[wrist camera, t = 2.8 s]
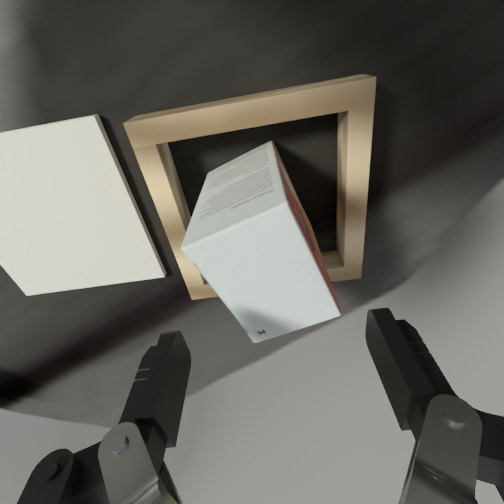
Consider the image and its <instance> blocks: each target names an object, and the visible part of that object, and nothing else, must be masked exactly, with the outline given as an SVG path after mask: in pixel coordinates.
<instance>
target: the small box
mask: <svg viewBox="0 0 504 504" xmlns="http://www.w3.org/2000/svg"><path fill="white" fill-rule="evenodd" d="M181 251H182V252H183V253H184V254H185V256H186V257H187V258H188V259H189V260H190V261H191V262H192V264H193V265H194V266H195V267H196V268H197V269H198V271H199V272H200V273H201V274H202V275H203V277H204V278H205V279H206V280H207V282H208V283H209V284H210V285H211V287H212V288H213V289H214V290H215V292H216V293H217V294H218V296H219V297H220V298H221V299H222V301H223V302H224V303H225V305H226V306H227V307H228V308H229V310H230V311H231V312H232V314H233V315H234V316H235V317H236V319H237V320H238V321H239V323H240V324H241V325H242V327H243V328H244V329H245V331H246V332H247V334H248V336H249V337H250V338H251V340H252V341H253V343H258V342H261V341H264V340H267V339H271V338H274V337H277V336H280V335H283V334H286V333H289V332H292V331H296V330H299V329H302V328H305V327H308V326H311V325H314V324H317V323H320V322H323V321H326V320H329V319H332V318H335V317H338V316H340V315H341V314H342V313H341V310H340V307H339V304H338V301H337V298H336V296H335V293H334V290H333V287H332V284H331V281H330V278H329V276H328V273H327V270H326V267H325V264H324V261H323V258H322V255H321V252H320V249H319V246H318V243H317V241H316V238H315V235H314V232H313V229H312V226H311V224H310V222H309V220H308V217H307V215H306V213H305V211H304V209H303V207H302V205H301V203H300V201H299V199H298V196H297V194H296V192H295V189H294V187H293V185H292V183H291V180H290V178H289V176H288V173H287V171H286V169H285V167H284V164H283V162H282V160H281V158H280V155H279V153H278V151H277V148H276V146H275V144H274V142H273V141H269V142H267V143H265V144H263V145H261V146H259V147H257V148H255V149H253V150H251V151H249V152H247V153H245V154H243V155H241V156H239V157H237V158H235V159H234V160H232V161H230V162H228V163H226V164H224V165H222V166H220V167H218V168H216V169H214V170H213V171H211V172H209V173H208V174H207V177H206V180H205V182H204V185H203V188H202V190H201V193H200V196H199V198H198V201H197V204H196V207H195V209H194V212H193V215H192V217H191V220H190V223H189V226H188V229H187V231H186V234H185V237H184V240H183V242H182V245H181Z"/></svg>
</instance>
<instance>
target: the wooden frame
mask: <svg viewBox="0 0 504 504" xmlns="http://www.w3.org/2000/svg"><path fill="white" fill-rule="evenodd" d="M375 91H376V77H375V76H370V75H365V74H359V75H353V76H348V77H342V78H337V79H332V80H326V81H321V82H315V83H310V84H305V85H299V86H294V87H288V88H283V89H277V90H272V91H267V92H261V93H256V94H250V95H245V96H240V97H234V98H229V99H223V100H218V101H213V102H207V103H202V104H196V105H191V106H185V107H180V108H175V109H169V110H164V111H158V112H153V113H148V114H142V115H137V116H135V117H133V118H131V119H130V120H128V121H126V122H124V123H123V124H124V127H125V129H126V132H127V135H128V137H129V140H130V142H131V145H132V147H133V150H134V152H135V155H136V158H137V160H138V163H139V165H140V168H141V170H142V173H143V176H144V178H145V181H146V183H147V186H148V188H149V191H150V193H151V196H152V199H153V201H154V204H155V206H156V209H157V211H158V214H159V216H160V219H161V222H162V224H163V227H164V229H165V232H166V234H167V237H168V240H169V242H170V245H171V247H172V250H173V252H174V255H175V257H176V260H177V263H178V265H179V268H180V270H181V273H182V275H183V278H184V280H185V283H186V286H187V288H188V291H189V293H190V296H191V298H192V300H194V299H202V298H210V297H218V294H217V293H216V292H215V290H214V289H213V288H212V287H211V285H210V284H209V283H208V282H207V280H206V279H205V278H204V277H203V275H202V274H201V273H200V272H199V271H198V269H197V268H196V267H195V266H194V265H193V264H192V262H191V261H190V260H189V259H188V258H187V257H186V256H185V254H184V253H183V252H182V251H181V245H182V242H183V240H184V237H185V234H186V231H187V229H188V226H189V223H190V220H191V215H190V212H189V209H188V205H187V202H186V199H185V196H184V193H183V190H182V187H181V184H180V180H179V177H178V174H177V171H176V168H175V165H174V162H173V159H172V155H171V152H170V149H169V146H168V143H167V142H172V141H178V140H183V139H189V138H195V137H201V136H206V135H212V134H218V133H223V132H229V131H235V130H240V129H246V128H252V127H258V126H263V125H269V124H275V123H280V122H286V121H292V120H298V119H303V118H309V117H315V116H320V115H326V114H332V113H338V144H337V250H333V251H325V252H321V255H322V258H323V261H324V264H325V267H326V270H327V273H328V276H329V278H330V281H331V282H336V281H344V280H352V279H360V278H361V276H362V263H363V250H364V236H365V223H366V210H367V197H368V183H369V170H370V157H371V144H372V130H373V117H374V104H375Z"/></svg>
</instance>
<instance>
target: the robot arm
mask: <svg viewBox="0 0 504 504" xmlns="http://www.w3.org/2000/svg"><path fill="white" fill-rule="evenodd" d="M366 342H367V346H368V349H369V351H370V354H371V356H372V359H373V361H374V364H375V366H376V369H377V371H378V374H379V376H380V379H381V381H382V384H383V386H384V389H385V391H386V393H387V396H388V398H389V401H390V403H391V406H392V408H393V411H394V413H395V416H396V418H397V421H398V423H399V426H400V428H401V430H411V431H412V433H413V435H414V438H415V440H416V441H415V445H414V448H413V452H412V456H411V459H410V464H409V467H408V471H407V474H406V478H405V482H404V486H403V489H402V493H401V497H400V500H399V503H398V504H478V503H477V500H476V499H475V486H476V479H477V480H480V481H484V482H487V483H490V484H494V485H495V486H496V488H497V490H498V492H499V494H500V496H501V497H502V499H503V501H504V417H502V416H498V415H493V414H489V413H485V412H482V411H479V410H477V409H474V408H473V407H471V406H470V405H469V404H468V403H467V402H465V401H464V400H462V399H460V398H459V397H458V396H457V395H456V394H455V392H454V391H453V390H452V388H451V386H450V385H449V383H448V382H447V380H446V378H445V376H444V375H443V373H442V372H441V370H440V368H439V367H438V365H437V363H436V362H435V360H434V358H433V357H432V355H431V354H430V353H429V350H428V348H427V347H426V345H425V344H424V343H423V341H422V339H421V337H420V335H419V334H418V332H417V330H416V329H415V328H414V327H413V326H411V325H410V324H409V323H408V322H406V321H405V320H395V319H394V316H393V314H392V313H391V311H390V310H389V309H388V308H381V309H373V310H368V314H367V324H366ZM190 367H191V355H190V351H189V349H188V347H187V344H186V342H185V340H184V338H183V335H182V333H181V332H180V331H172V332H163V333H162V334H161V335H160V337H159V341H158V344H157V346H151V347H150V348H149V349H148V351H147V352H146V353H145V355H144V356H143V357H142V360H141V363H140V366H139V368H138V372H137V374H136V377H135V382H133V385H132V388H131V391H130V394H129V396H128V399H127V402H126V405H125V408H124V410H123V413H122V416H121V419H120V421H119V423H118V425H116V426H115V427H113V428H112V429H111V430H110V431H109V432H108V433H107V434H106V435H105V437H104V438H103V440H102V441H101V442H99V443H97V444H95V445H92V446H90V447H88V448H85V449H83V450H81V451H79V452H76V453H74V454H73V453H72V452H71V451H69V450H68V449H58V450H56V451H53V452H51V453H50V454H48V455H47V456H46V457H44V458H43V459H42V460H41V461H40V462H39V463H38V465H37V466H36V467H35V469H34V470H33V472H32V473H31V475H30V477H29V479H28V481H27V484H26V486H25V488H24V490H23V492H22V494H21V496H20V498H19V500H18V502H17V504H183V503H182V500H181V498H180V496H179V494H178V491H177V489H176V487H175V484H174V482H173V480H172V478H171V475H170V473H169V471H168V469H167V466H166V464H165V462H164V460H163V458H164V454H165V449H166V448H170V447H175V446H176V441H177V435H178V430H179V424H180V420H181V414H182V409H183V404H184V399H185V394H186V388H187V383H188V378H189V373H190Z"/></svg>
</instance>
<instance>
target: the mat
mask: <svg viewBox="0 0 504 504" xmlns="http://www.w3.org/2000/svg"><path fill="white" fill-rule="evenodd" d="M0 265H1V266H2V267H3V268H4V269H5V271H6V272H7V273H8V274H9V275H10V277H11V278H12V279H13V280H14V281H15V282H16V284H17V285H18V286H19V287H20V288H21V290H22V291H23V292H24V293H25V294H26V296H29V295H36V294H44V293H51V292H58V291H66V290H73V289H81V288H88V287H96V286H103V285H110V284H118V283H125V282H133V281H140V280H148V279H155V278H162V277H165V275H166V271H165V269H164V266H163V264H162V262H161V259H160V257H159V255H158V252H157V250H156V248H155V245H154V243H153V241H152V239H151V236H150V234H149V232H148V229H147V227H146V225H145V222H144V220H143V218H142V215H141V213H140V211H139V208H138V206H137V204H136V201H135V199H134V197H133V194H132V192H131V190H130V187H129V185H128V183H127V180H126V178H125V176H124V173H123V171H122V169H121V166H120V164H119V162H118V159H117V157H116V155H115V152H114V150H113V148H112V146H111V143H110V141H109V139H108V136H107V134H106V132H105V129H104V127H103V125H102V122H101V120H100V118H99V115H98V114H96V115H91V116H85V117H80V118H75V119H69V120H64V121H59V122H53V123H48V124H43V125H37V126H32V127H27V128H21V129H16V130H11V131H5V132H0Z"/></svg>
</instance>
